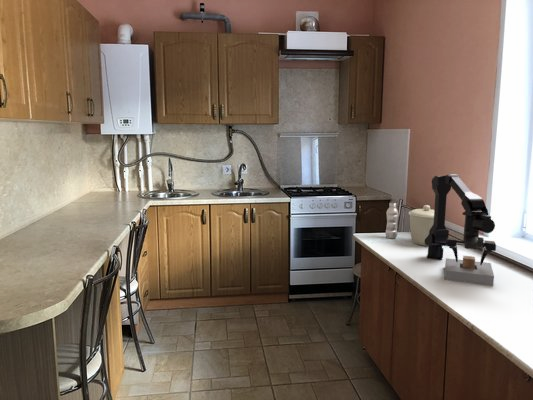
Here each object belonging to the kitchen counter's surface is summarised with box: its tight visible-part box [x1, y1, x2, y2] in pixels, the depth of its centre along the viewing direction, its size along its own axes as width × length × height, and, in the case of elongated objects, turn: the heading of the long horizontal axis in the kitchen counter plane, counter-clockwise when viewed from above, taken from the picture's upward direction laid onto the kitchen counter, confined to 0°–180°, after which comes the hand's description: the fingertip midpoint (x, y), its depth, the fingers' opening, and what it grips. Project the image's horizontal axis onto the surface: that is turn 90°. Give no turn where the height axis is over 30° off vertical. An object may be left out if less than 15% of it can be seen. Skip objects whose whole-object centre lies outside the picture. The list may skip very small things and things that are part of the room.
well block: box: [444, 257, 495, 286], centre depth 186 cm, size 18×18×4 cm
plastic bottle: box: [384, 202, 399, 239], centre depth 247 cm, size 6×7×20 cm
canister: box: [408, 204, 434, 247], centre depth 235 cm, size 18×18×21 cm
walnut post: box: [462, 255, 476, 269], centre depth 186 cm, size 4×4×8 cm
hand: (468, 263), depth 186 cm, fingers open, 9 cm apart
